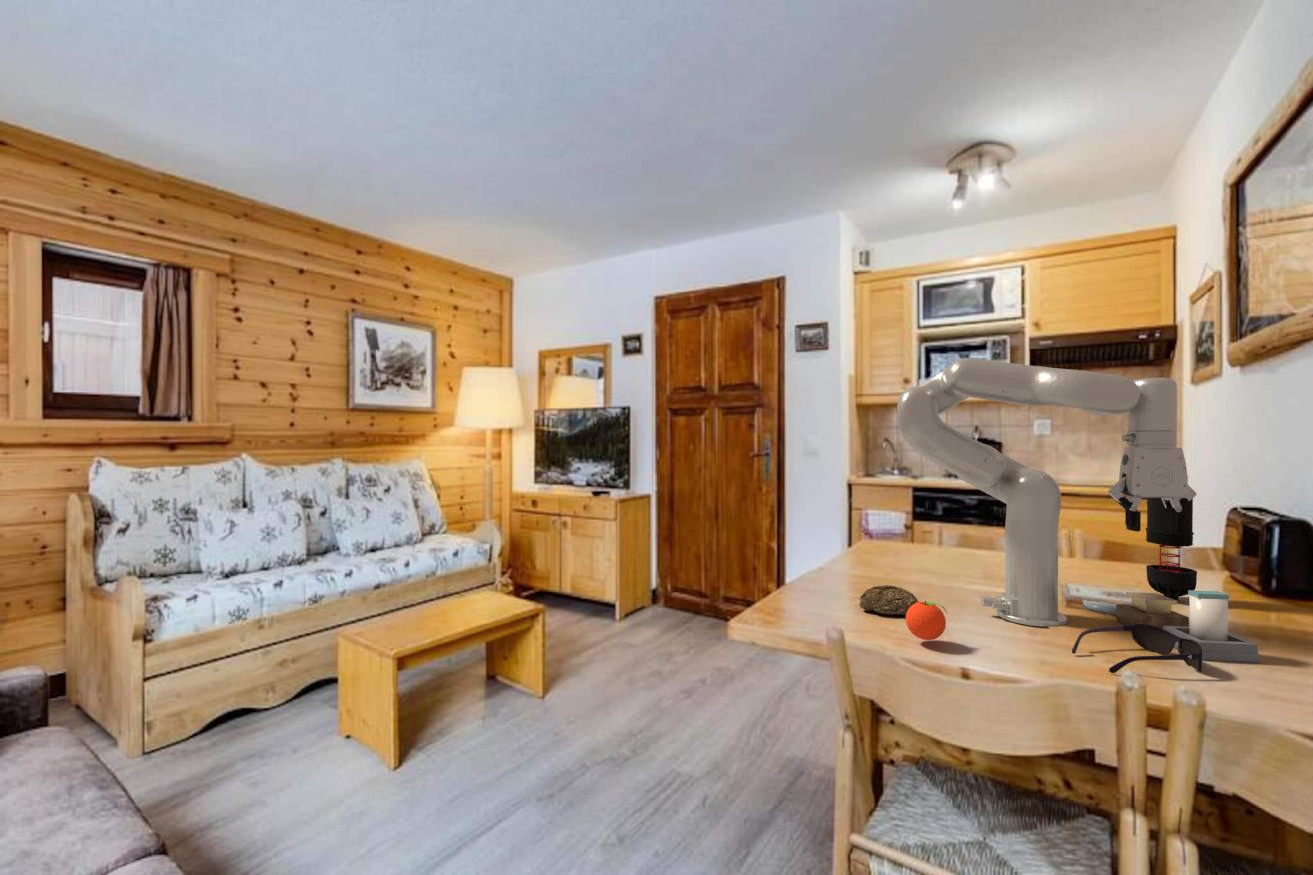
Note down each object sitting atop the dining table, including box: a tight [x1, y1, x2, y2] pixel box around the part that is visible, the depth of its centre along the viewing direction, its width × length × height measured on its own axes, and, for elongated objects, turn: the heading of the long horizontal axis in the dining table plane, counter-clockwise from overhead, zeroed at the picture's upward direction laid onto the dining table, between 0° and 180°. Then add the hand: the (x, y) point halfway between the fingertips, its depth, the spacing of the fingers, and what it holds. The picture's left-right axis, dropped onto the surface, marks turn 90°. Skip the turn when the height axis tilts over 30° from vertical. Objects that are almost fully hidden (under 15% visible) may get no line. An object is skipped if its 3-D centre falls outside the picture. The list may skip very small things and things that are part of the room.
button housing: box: [1115, 604, 1189, 629], centre depth 118 cm, size 8×8×4 cm
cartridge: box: [1187, 590, 1230, 641], centre depth 105 cm, size 5×5×9 cm
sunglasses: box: [1071, 624, 1203, 674], centre depth 101 cm, size 14×16×5 cm
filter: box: [1145, 498, 1198, 603], centre depth 139 cm, size 14×9×30 cm
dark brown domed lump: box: [859, 584, 920, 616], centre depth 133 cm, size 13×12×5 cm
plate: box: [1082, 599, 1116, 616], centre depth 131 cm, size 10×10×1 cm
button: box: [1126, 591, 1178, 615], centre depth 118 cm, size 6×6×3 cm
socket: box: [1163, 626, 1260, 663], centre depth 105 cm, size 9×9×3 cm
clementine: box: [905, 600, 948, 641], centre depth 112 cm, size 8×7×7 cm
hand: (1151, 530), depth 118 cm, fingers open, 5 cm apart
